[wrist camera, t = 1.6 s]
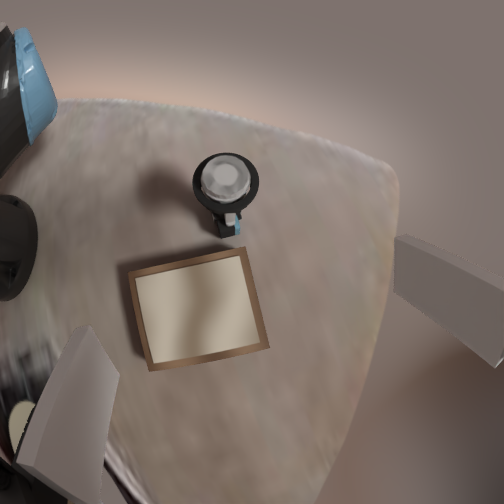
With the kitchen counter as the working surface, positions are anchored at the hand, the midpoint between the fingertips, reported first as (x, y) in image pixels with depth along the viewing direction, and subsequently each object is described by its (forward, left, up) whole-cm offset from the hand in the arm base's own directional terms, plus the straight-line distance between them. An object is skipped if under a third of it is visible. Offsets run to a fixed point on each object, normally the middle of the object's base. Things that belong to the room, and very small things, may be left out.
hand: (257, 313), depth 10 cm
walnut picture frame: (-4, +1, -18) cm, 19 cm away
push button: (+1, +11, -18) cm, 21 cm away
